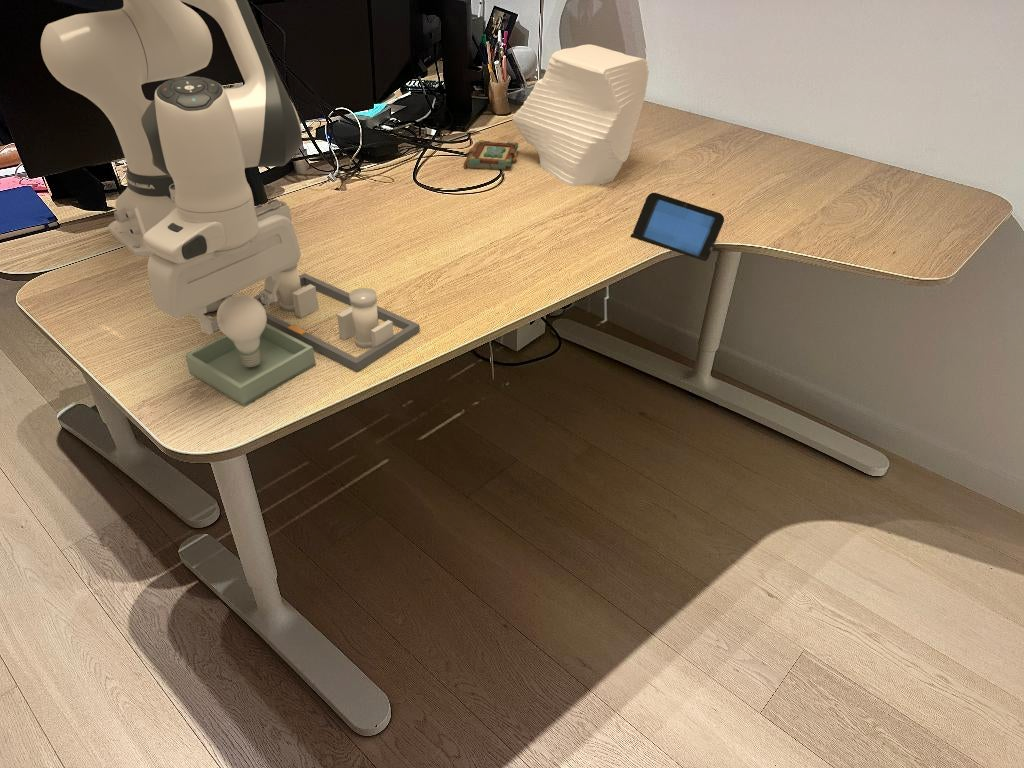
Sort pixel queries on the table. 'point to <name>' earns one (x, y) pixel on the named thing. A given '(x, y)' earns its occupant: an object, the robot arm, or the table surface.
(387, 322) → the rail
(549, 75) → the white ridged sculpture
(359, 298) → the cylinder
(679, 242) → the small black monitor
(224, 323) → the lightbulb
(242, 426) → the table surface
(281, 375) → the tray
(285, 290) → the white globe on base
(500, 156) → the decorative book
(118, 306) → the table surface
